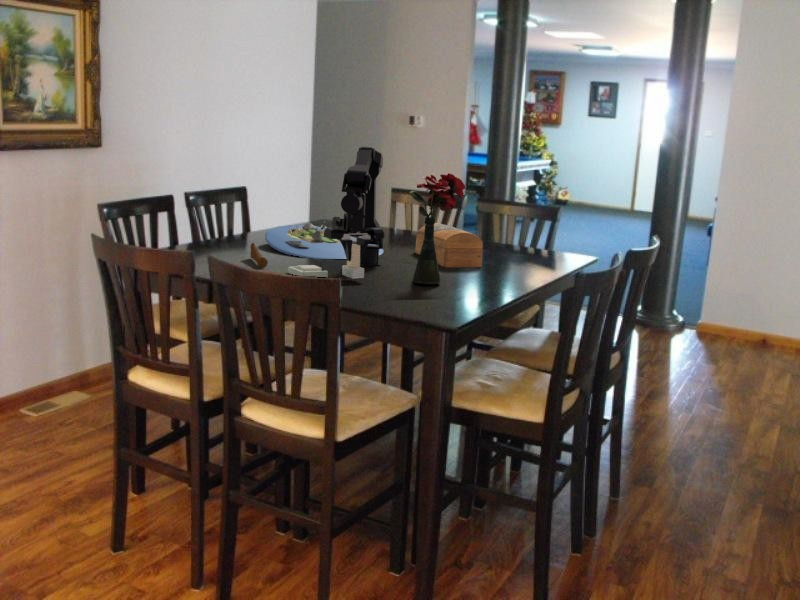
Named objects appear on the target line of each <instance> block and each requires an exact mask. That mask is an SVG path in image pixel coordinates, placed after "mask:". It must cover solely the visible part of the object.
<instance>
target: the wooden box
mask: <svg viewBox="0 0 800 600" xmlns="http://www.w3.org/2000/svg"><path fill="white" fill-rule="evenodd" d="M424 230H425V225H423V226H421V227H420V229H418V230H417V232H416V238H415V249H414V253H415V254H417V255H418V256H419V255H420V252H421V249H422V245H423V240H424V233H425V231H424ZM434 244H435V251H436V259H437V264H438V266H439V265H440V266H441V267H443V268H482V265H483V252H484V249H483V247H484V242H483V240H482V239H481V237H479V235H478V236H477V235H476V234H474V233H471V232H470V231H465V230H463V229H460V228H458V227H454V226H451V225H447V224H444V223H439V222H435V224H434Z"/></svg>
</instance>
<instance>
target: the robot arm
mask: <svg viewBox="0 0 800 600" xmlns="http://www.w3.org/2000/svg"><path fill="white" fill-rule="evenodd" d="M355 157H356V159H355V162H354V165H352V166H350V167H348V169H347V170H346V172H345V173H344V175H343V181H342V185H341V193H345V194H346V195H344V196H343V197H342V198H341V201H340V207H341V209H342V210H343V211H344V214H343V218H341V217H340V216H334V217H332V219H331V220H332V221H331V222H332V223H331V226H332V227H331V228H330V227H327V228H326V229H325V231H324V237H326V238H330V239H337V240H339V241H340V242H341V244H342V246H343V248H344V251H345V255H346V258H347V260H346V262H347V261H350V258H351V249H352V240H350V236H351V237H355V238H356V239H357V244H358V245H360V266H363V267H381V264H380V263H379V258H380V255H379V249H383V250H384V239H385V230H384V229H383V228H381V225H380V223H379V222H378V220H377V218H376V213H377V210H376V209H377V208H376V207H377V206H376V205H377V204H376V203H377V202H376V201H377V178H378V176H379V175H380V173H381V171H382V169H383V166H384V158H383V157H384V156H383V155H382V153H381V152H379V151H377V150H376V148H375V147H372V146H370V147H369V146H361V147H358V151H356V156H355ZM368 244H372V245H368Z"/></svg>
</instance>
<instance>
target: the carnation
mask: <svg viewBox="0 0 800 600" xmlns="http://www.w3.org/2000/svg"><path fill="white" fill-rule="evenodd" d="M439 176H440V179H438V180H437V178H436V176H435V175H434V174H430V176H429V175H425V176H422V178H421V179H422V180H425V182H426V183H425V182H424V181H422V182H421V183H417V185H416V188H417V189H421V188H423V189H426V192H428V195H429V197H428V199H425V197H424V196H423V195H422V194H421V193H419V192H418V191H416V190H411V191H409V193H408V194H409V195H410V196H411V197H412V199H413V200H415V201H417V202H418V203H421V204H423V205H424V207H423V206H419V208H418V213H419V214H420V215H422V216H423V217H424V222H423V223H424V226H425V230H424V231H425V233H424V240H423V245H422V249H421V252H420V255H419V254H418V256H419V257H418V259H417V263H416V266H415V267H416V268H415V270H414V273H413V278H412V282H413V284H416V283H417V284H418V283H419V284H420V285H435V286H436V285H437V284H440V283H441V277H440V272H439V264H437V259H436V251H435V244H434V224H435V223H436V222H435V221H436V220H435V219H436V218H435V217H434V215H435V213H436V211H437V209H438V207H439V210H440V211H443V212H446V211H447V212H448V211H452V209H454V207H455V206H456V204H457V198H456V197H455V195H454V194H456V196H458V198H459V199H462V198H463V197H464V190H465V189H466V184H465V183H464V181H463V180H462V179H461V178H460V177H457V176H455V175H454V174H452V173H446V174H439ZM426 205H427V206H429V210H430V211H429V213H428V210H427V207H426ZM434 208H435V209H434ZM430 216H431V217H430Z"/></svg>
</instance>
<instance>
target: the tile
mask: <svg viewBox="0 0 800 600" xmlns="http://www.w3.org/2000/svg"><path fill="white" fill-rule="evenodd" d="M297 269H298V270H301V271H303V272H306V271H323V270H322V267H321V266H318V265H315V264H305V265H304V264H301V265H299V264H298V265H297Z"/></svg>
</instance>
